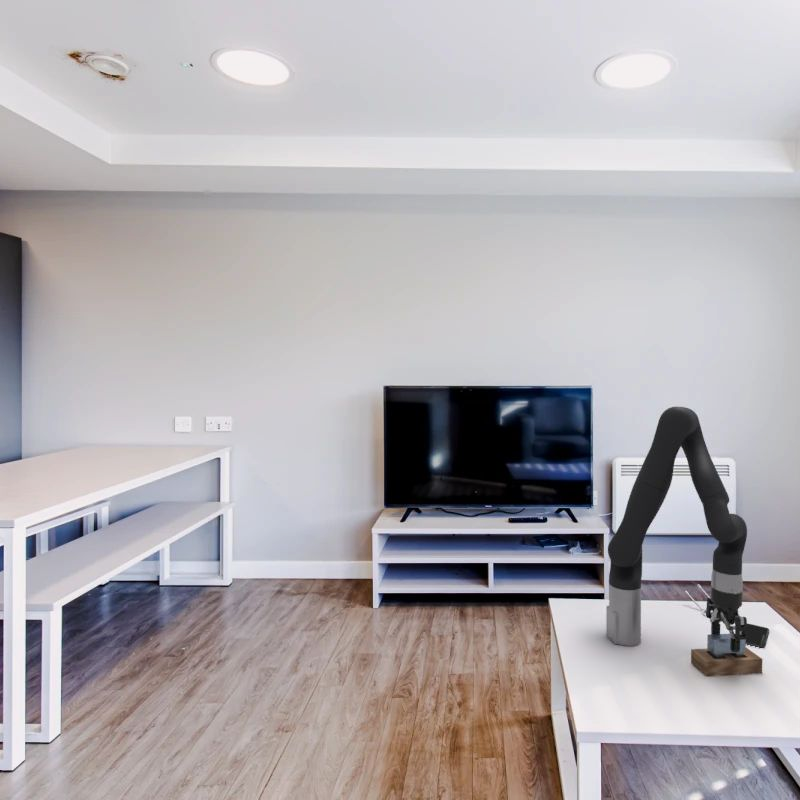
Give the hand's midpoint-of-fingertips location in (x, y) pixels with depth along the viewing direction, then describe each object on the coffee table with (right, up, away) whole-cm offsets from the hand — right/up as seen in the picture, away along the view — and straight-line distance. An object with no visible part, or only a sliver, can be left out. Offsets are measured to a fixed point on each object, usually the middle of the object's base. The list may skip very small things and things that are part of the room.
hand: (725, 643), depth 156 cm
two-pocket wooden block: (0, -7, 0) cm, 7 cm away
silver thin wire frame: (+18, -5, +39) cm, 43 cm away
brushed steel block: (+1, -6, 0) cm, 6 cm away
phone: (+19, -6, +19) cm, 28 cm away
